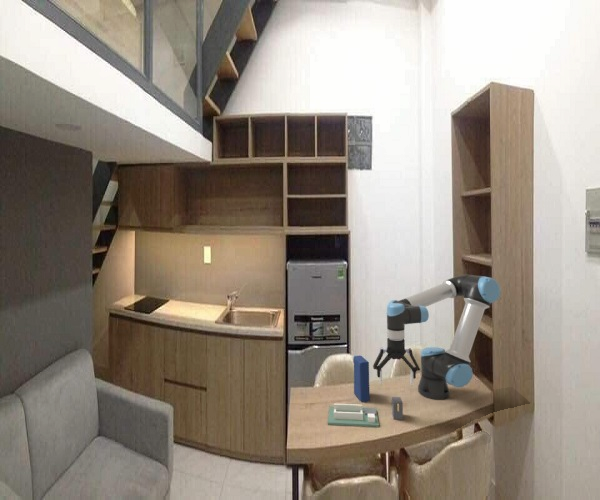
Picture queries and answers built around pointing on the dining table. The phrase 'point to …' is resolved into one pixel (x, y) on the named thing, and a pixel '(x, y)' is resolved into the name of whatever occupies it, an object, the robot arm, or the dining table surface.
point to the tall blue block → (361, 378)
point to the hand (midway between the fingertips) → (396, 384)
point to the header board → (352, 415)
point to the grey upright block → (397, 408)
